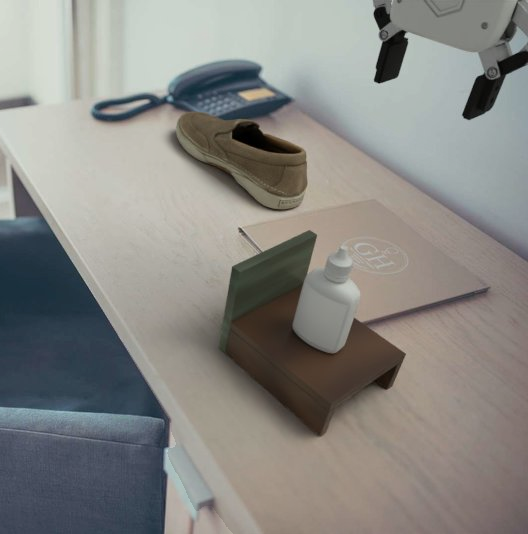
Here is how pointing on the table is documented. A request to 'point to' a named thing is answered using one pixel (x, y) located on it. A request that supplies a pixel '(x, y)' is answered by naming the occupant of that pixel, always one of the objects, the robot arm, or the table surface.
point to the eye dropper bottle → (327, 304)
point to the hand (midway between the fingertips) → (427, 97)
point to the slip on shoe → (247, 157)
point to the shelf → (297, 338)
